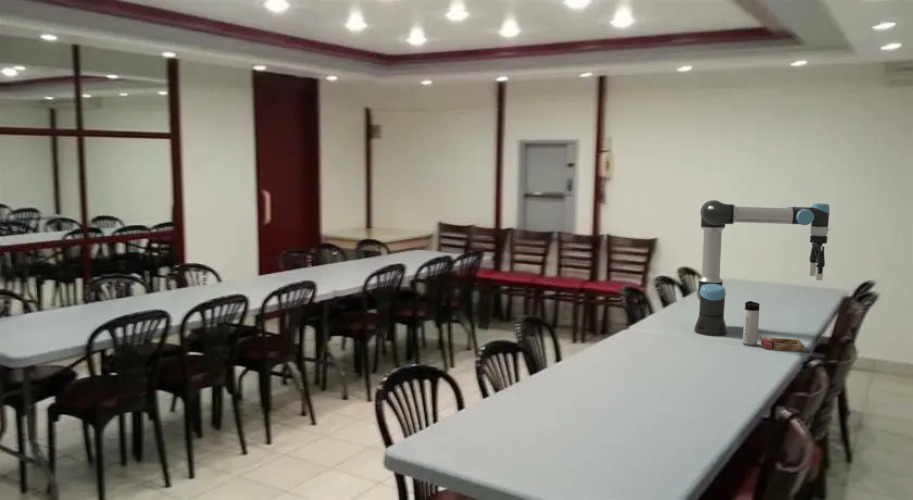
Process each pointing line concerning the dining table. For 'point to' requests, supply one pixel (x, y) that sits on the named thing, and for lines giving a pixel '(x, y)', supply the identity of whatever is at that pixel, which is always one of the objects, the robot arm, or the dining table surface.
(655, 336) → the dining table surface
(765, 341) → the door edge strip
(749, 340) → the travel mug
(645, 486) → the dining table surface
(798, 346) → the box
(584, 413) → the dining table surface
